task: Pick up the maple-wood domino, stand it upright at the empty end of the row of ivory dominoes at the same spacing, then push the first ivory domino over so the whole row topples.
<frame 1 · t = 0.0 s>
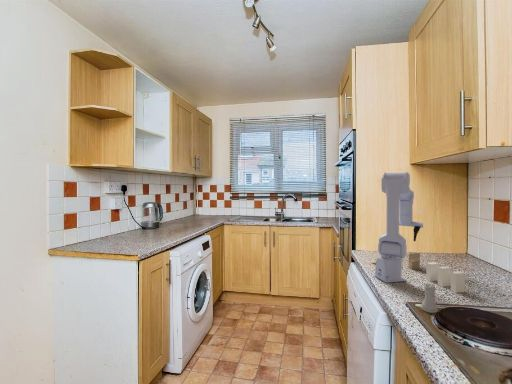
hand: (406, 239, 136), 11 cm above the countertop, tool pointing down, fingers open, 7 cm apart
domino 2: (444, 285, 104), on the countertop
rook chess piece: (429, 310, 85), on the countertop
domino 3: (457, 291, 99), on the countertop
domino 1: (432, 280, 110), on the countertop
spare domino: (414, 268, 124), on the countertop
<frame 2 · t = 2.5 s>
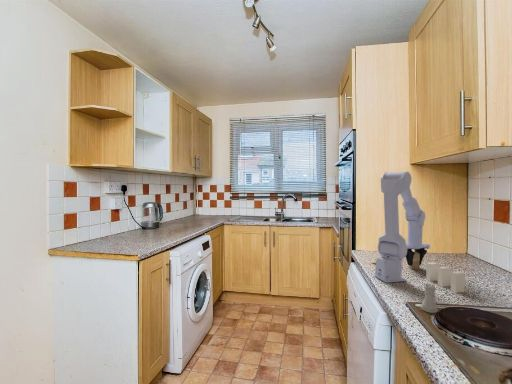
hand: (414, 264, 124), 2 cm above the countertop, tool pointing down, fingers closed on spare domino, 4 cm apart
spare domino: (414, 268, 124), on the countertop, touching gripper
everything else where it was.
when the fingers open (3 cm above the countertop, at t = 8.4 s): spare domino stays where it is, on the countertop.
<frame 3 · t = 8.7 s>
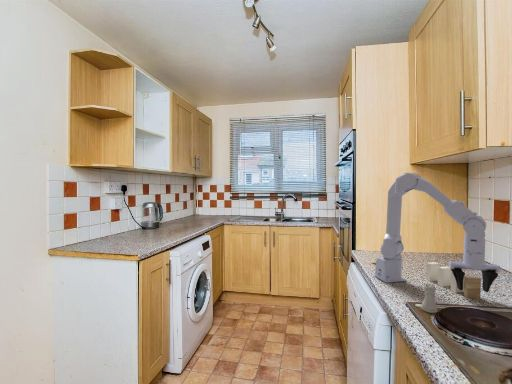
hand: (472, 290, 93), 3 cm above the countertop, tool pointing down, fingers open, 7 cm apart
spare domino: (471, 297, 94), on the countertop
everything else where it was.
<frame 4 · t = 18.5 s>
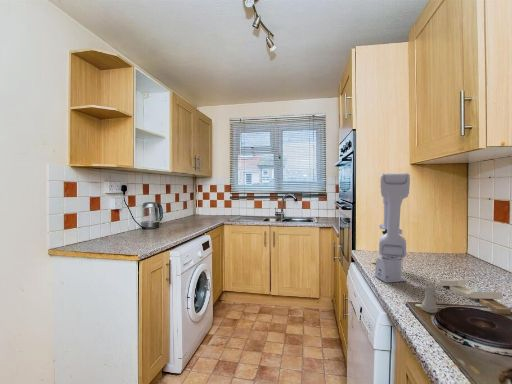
hand: (389, 246, 127), 9 cm above the countertop, tool pointing down, fingers closed
domino 2: (454, 288, 100), on the countertop, tilted 90°
domino 3: (475, 295, 93), point 1 cm above the countertop, tilted 68°, touching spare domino
domino 1: (444, 282, 104), point 1 cm above the countertop, tilted 70°
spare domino: (485, 301, 89), point 1 cm above the countertop, tilted 90°, touching domino 3
everything else where it was.
at the end: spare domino tilted 90°; domino 1 tilted 70°; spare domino inside the target area (3.4 cm from its centre), point 0.5 cm above the countertop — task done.
